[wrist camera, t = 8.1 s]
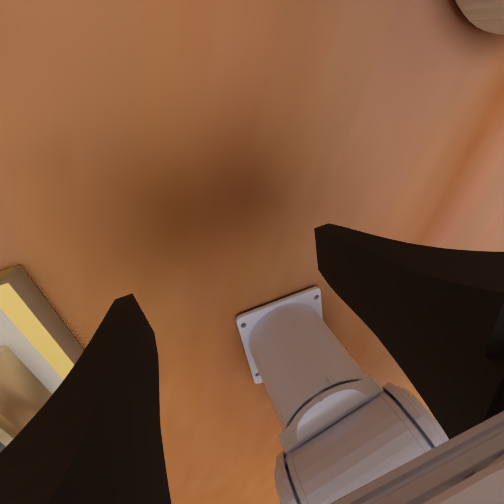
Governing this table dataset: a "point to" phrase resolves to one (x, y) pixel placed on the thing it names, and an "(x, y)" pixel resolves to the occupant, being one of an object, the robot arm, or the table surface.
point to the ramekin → (484, 14)
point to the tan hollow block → (17, 395)
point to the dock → (35, 329)
